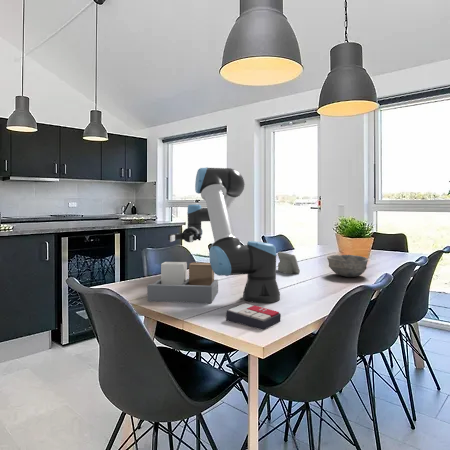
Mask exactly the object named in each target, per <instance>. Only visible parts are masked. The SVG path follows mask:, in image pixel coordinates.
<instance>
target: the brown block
mask: <svg viewBox="0 0 450 450" xmlns="http://www.w3.org/2000/svg"><path fill="white" fill-rule="evenodd" d="M188 279H189V285H204V286H211V284H212V283H213V281H214V280H215V273H214V271H213V270H212V267H211V264H210V262H204V261H203V262H202V261H201V262H196V261H195V262H193V261H192V262H191V263H188Z"/></svg>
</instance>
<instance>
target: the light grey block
mask: <svg viewBox="0 0 450 450" xmlns="http://www.w3.org/2000/svg"><path fill="white" fill-rule="evenodd" d="M187 270H188V262H187V261H164V262H162V263H160V277H161V284H166V285H181V284H182V283H184V282H185V281H186V280H187V279H188V271H187Z"/></svg>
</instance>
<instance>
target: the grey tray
mask: <svg viewBox="0 0 450 450" xmlns="http://www.w3.org/2000/svg"><path fill="white" fill-rule="evenodd" d="M146 290H147V291H146V292H147V294H146V295H147V296H146V297H147V302H160V303H161V302H164V303H165V302H166V303H167V302H168V303H189V304H190V303H191V304H192V303H193V304H195V303H198V304H212V303H213V302H214V300H215V298H216V297H217V295H218V293H219V280H218V279H214V281H213V283H212V284H211V286H204V285H189V278H187V280H186V281H185V282H184V283H182V284H181V285H166V284H161V278H160V277H159V279H157V280H156V281H155V282H153V283H152V284H151V283H149V284H147V289H146Z"/></svg>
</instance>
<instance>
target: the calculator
mask: <svg viewBox="0 0 450 450" xmlns="http://www.w3.org/2000/svg"><path fill="white" fill-rule="evenodd" d="M225 313H226V314H225V315H226V316H225V321H226V322H230V323H234V324H236V323H237V324H241V325H243V326H247V327H251V328H254V329H259V330H263V331H264V330H266V329H268V328H269V327H271V326H274V325H276V324H277V323H279V322H281V319H282V318H281V314H282V313H280V311H277V310H273V309H269V308H265V307H261V306H259V305H253V304H250V303H249V304H248V303H242V304H240V305H238V306H234V307H232V308H229V309H227V310H226V312H225Z"/></svg>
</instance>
